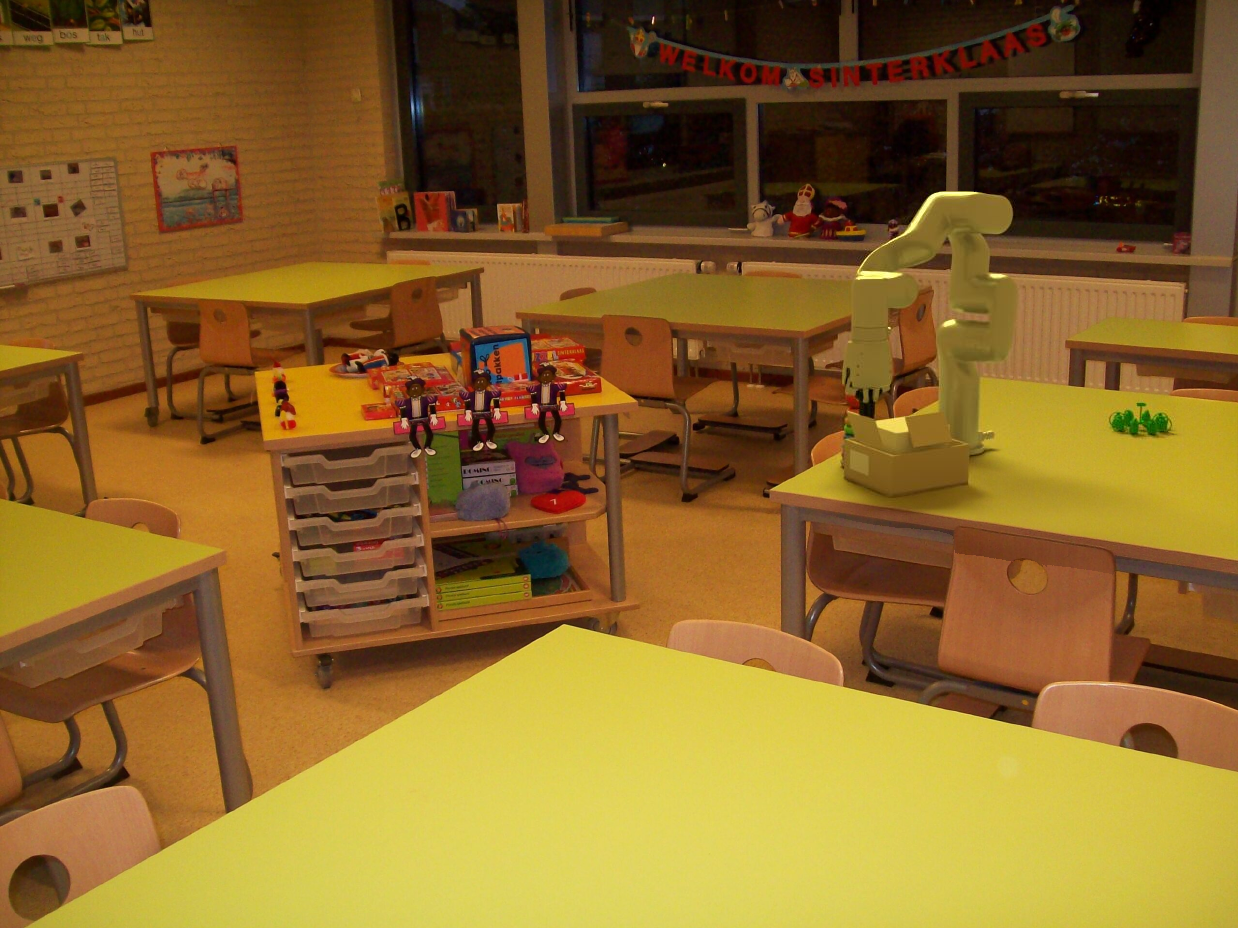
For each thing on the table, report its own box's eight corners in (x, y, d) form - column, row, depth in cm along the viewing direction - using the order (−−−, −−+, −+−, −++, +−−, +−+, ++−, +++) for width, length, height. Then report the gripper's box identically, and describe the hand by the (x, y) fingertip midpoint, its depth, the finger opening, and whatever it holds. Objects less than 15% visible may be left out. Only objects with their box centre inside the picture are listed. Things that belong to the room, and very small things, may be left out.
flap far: (856, 437, 269) (855, 438, 269) (848, 410, 266) (846, 411, 266) (883, 447, 260) (882, 448, 260) (875, 419, 257) (873, 420, 257)
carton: (917, 465, 283) (919, 410, 280) (970, 483, 266) (972, 425, 263) (842, 477, 275) (842, 421, 272) (891, 497, 259) (892, 438, 255)
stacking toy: (873, 461, 288) (874, 383, 283) (876, 470, 280) (878, 390, 275) (839, 462, 288) (839, 384, 284) (841, 470, 281) (842, 390, 276)
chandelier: (1163, 440, 298) (1165, 412, 297) (1099, 433, 307) (1101, 406, 305) (1178, 427, 310) (1180, 401, 308) (1117, 421, 319) (1119, 395, 317)
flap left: (913, 447, 259) (914, 447, 259) (904, 417, 261) (905, 416, 260) (951, 441, 263) (952, 441, 263) (942, 411, 264) (944, 411, 264)
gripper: (888, 330, 264) (885, 413, 269) (829, 335, 259) (827, 420, 263) (909, 334, 258) (906, 419, 262) (849, 339, 252) (847, 426, 256)
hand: (866, 419), depth 262 cm, fingers closed
